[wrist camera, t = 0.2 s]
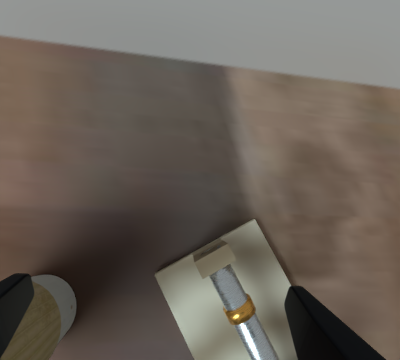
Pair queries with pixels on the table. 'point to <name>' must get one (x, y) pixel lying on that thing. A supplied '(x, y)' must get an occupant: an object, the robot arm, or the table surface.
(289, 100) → the table surface
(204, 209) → the table surface
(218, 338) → the stand
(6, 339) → the robot arm
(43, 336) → the coffee cup
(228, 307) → the rod
